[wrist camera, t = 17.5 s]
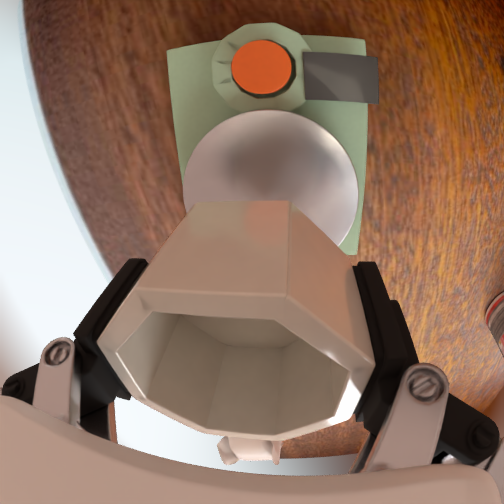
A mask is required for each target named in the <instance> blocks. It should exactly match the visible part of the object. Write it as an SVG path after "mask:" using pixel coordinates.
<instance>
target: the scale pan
mask: <svg viewBox="0 0 504 504" xmlns="http://www.w3.org/2000/svg"><path fill="white" fill-rule="evenodd" d="M303 66H304V83H305V100H328V101H346V102H360V103H370V104H379V78H378V58H377V57H371V56H363V55H354V54H342V53H327V52H303ZM183 198H184V204H185V209H186V213H188V211H189V210H190V209H191V208H192V207H193V205H194V204H196V203H197V202H220V201H289V202H292V203H293V204H294V205H295V206H296V207H297V208H298V209H299V210H301V211H302V212H303V213H304V214H305V215H306V216H307V217H308V218H309V219H310V220H311V221H312V222H313V223H314V224H315V225H316V226H317V227H319V228H320V229H321V230H322V231H323V232H324V233H325V234H326V235H327V236H328V237H329V238H330V239H331V240H332V241H333V242H334V243H335V244H336V245H337V246H339V245H340V244H341V243H342V242H343V240H344V239H345V237H346V236H347V234H348V233H349V231H350V229H351V227H352V225H353V222H354V220H355V216H356V213H357V208H358V202H359V187H358V179H357V175H356V172H355V168H354V166H353V163H352V161H351V159H350V157H349V155H348V154H347V152H346V150H345V149H344V147H343V146H342V145H341V143H340V142H339V141H338V140H337V139H336V138H335V136H334V135H332V134H331V133H330V132H329V131H328V130H327V129H326V128H325V127H323V126H322V125H320V124H319V123H317V122H316V121H314V120H312V119H310V118H308V117H306V116H304V115H302V114H298V113H295V112H292V111H288V110H282V109H257V110H251V111H247V112H243V113H240V114H238V115H235V116H233V117H230V118H228V119H226V120H225V121H223V122H221V123H219V124H218V125H216V126H215V127H214V128H213V129H211V130H210V131H209V132H208V133H207V134H206V135H205V136H204V137H203V138H202V139H201V140H200V142H199V143H198V144H197V146H196V147H195V149H194V150H193V152H192V154H191V156H190V158H189V160H188V163H187V166H186V169H185V174H184V180H183Z"/></svg>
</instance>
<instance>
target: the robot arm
mask: <svg viewBox="0 0 504 504" xmlns="http://www.w3.org/2000/svg"><path fill="white" fill-rule="evenodd" d="M147 264H148V263H147V261H146V260H145V259H139V258H131V259H129V260H128V261H127V262H126V263H125V264H124V266H123V267H122V268H121V269H120V271H119V272H118V273H117V274H116V276H115V277H114V278H113V280H112V281H111V282H110V283H109V285H108V286H107V287H106V289H105V290H104V291H103V293H102V294H101V295H100V297H99V298H98V299H97V301H96V302H95V303H94V305H93V306H92V308H91V309H90V310H89V312H88V313H87V314H86V316H85V317H84V319H83V320H82V322H81V323H80V324H79V326H78V327H77V329H76V330H75V332H74V333H73V334H74V336H75V338H76V339H75V340H74V342H73V341H72V340H71V339H70V338H67V337H61V338H57V339H55V340H53V341H51V342H50V343H49V344H48V345H47V346H46V347H45V348H44V350H43V352H42V355H41V359H40V363H38V364H36V365H34V366H32V367H29V368H27V369H25V370H23V371H20V372H18V373H16V374H14V375H12V376H10V377H9V378H8V379H7V380H6V382H5V383H4V385H3V388H0V504H504V437H503V438H502V439H501V438H500V437H499V430H498V427H497V426H496V424H495V422H494V421H492V420H491V419H490V418H489V417H487V416H485V415H484V414H482V413H480V412H479V411H477V410H476V409H474V408H472V407H471V406H469V405H468V404H466V403H464V402H463V401H461V400H460V399H458V398H456V397H455V396H453V395H452V394H450V393H449V382H448V379H447V376H446V375H445V374H444V372H443V371H442V370H441V369H440V368H438V367H437V366H435V365H433V364H430V363H419V360H418V357H417V354H416V351H415V347H414V344H413V341H412V338H411V335H410V332H409V330H408V327H407V324H406V321H405V318H404V315H403V313H402V310H401V307H400V305H399V303H398V301H396V300H390V299H389V296H388V293H387V290H386V288H385V285H384V282H383V280H382V277H381V275H380V272H379V270H378V267H377V265H376V263H375V262H358V264H357V266H352V267H353V271H354V274H355V278H356V282H357V285H358V289H359V293H360V297H361V301H362V305H363V309H364V313H365V317H366V322H367V326H368V330H369V335H370V340H371V344H372V349H373V354H374V359H375V363H376V365H375V368H374V370H373V373H372V375H371V377H370V379H369V382H368V384H367V386H366V388H365V390H364V392H363V394H362V397H361V399H360V401H359V403H358V405H357V407H356V409H355V411H354V413H353V414H355V416H356V422H361V421H364V428H365V429H367V430H368V431H369V432H368V434H367V436H366V438H365V441H364V443H363V445H362V447H361V449H360V451H359V453H358V455H357V457H356V459H355V461H354V463H353V465H352V467H351V469H350V471H349V472H348V474H344V475H325V476H323V475H322V476H285V475H282V476H281V475H266V474H253V473H243V472H235V471H227V470H220V469H214V468H208V467H202V466H197V465H192V464H187V463H182V462H178V461H174V460H170V459H166V458H161V457H158V456H155V455H151V454H147V453H144V452H141V451H137V450H134V449H131V448H128V447H125V446H122V445H119V444H118V442H117V433H116V422H115V408H114V400H115V398H116V396H117V397H119V398H122V399H126V400H130V398H131V396H132V395H131V394H130V392H129V391H128V390H127V388H126V387H125V386H124V384H123V383H122V381H121V380H120V378H119V377H118V375H117V374H116V373H115V371H114V370H113V368H112V367H111V365H110V363H109V362H108V360H107V359H106V357H105V356H104V354H103V353H102V351H101V349H100V348H99V346H98V344H97V339H98V338H99V336H100V335H101V333H102V331H103V330H104V328H105V327H106V325H107V323H108V322H109V320H110V319H111V317H112V316H113V314H114V313H115V311H116V310H117V308H118V307H119V305H120V304H121V302H122V301H123V299H124V298H125V296H126V295H127V293H128V292H129V290H130V289H131V287H132V286H133V284H134V283H135V281H136V280H137V279H138V277H139V276H140V274H141V273H142V271H143V270H144V269H145V267H146V266H147Z"/></svg>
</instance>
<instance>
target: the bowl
mask: <svg viewBox="0 0 504 504" xmlns="http://www.w3.org/2000/svg"><path fill="white" fill-rule="evenodd" d="M97 344H98V346H99V348H100V349H101V351H102V353H103V354H104V356H105V357H106V359H107V360H108V362H109V363H110V365H111V367H112V368H113V370H114V371H115V373H116V374H117V375H118V377H119V378H120V380H121V381H122V383H123V384H124V386H125V387H126V388H127V390H128V391H129V392H130V394H131V395H132V396H133V397H134V398H135V399H136V400H138V401H140V402H142V403H144V404H145V405H147V406H149V407H151V408H152V409H154V410H156V411H158V412H160V413H162V414H164V415H166V416H168V417H170V418H172V419H174V420H176V421H178V422H180V423H182V424H184V425H186V426H188V427H191V428H193V429H195V430H197V431H199V432H202V433H206V434H213V435H219V436H227V437H235V438H245V439H256V440H271V441H283V440H287V439H291V438H294V437H298V436H301V435H304V434H308V433H311V432H314V431H317V430H320V429H323V428H326V427H329V426H332V425H334V424H337V423H340V422H342V421H345V420H348V419H350V418H351V417H352V415H353V413H354V411H355V409H356V407H357V405H358V403H359V401H360V399H361V397H362V394H363V392H364V390H365V388H366V386H367V384H368V382H369V379H370V377H371V375H372V373H373V370H374V368H375V365H376V363H375V359H374V354H373V349H372V344H371V340H370V335H369V330H368V326H367V322H366V317H365V313H364V309H363V305H362V301H361V297H360V293H359V289H358V285H357V282H356V278H355V274H354V271H353V267H352V263H351V261H350V258H349V257H348V256H347V255H346V254H345V253H344V252H343V251H342V250H341V249H340V248H339V247H338V246H337V245H336V244H335V243H334V242H333V241H332V240H331V239H330V238H329V237H328V236H327V235H326V234H325V233H324V232H323V231H322V230H321V229H320V228H319V227H317V226H316V225H315V224H314V223H313V222H312V221H311V220H310V219H309V218H308V217H307V216H306V215H305V214H304V213H303V212H302V211H301V210H299V209H298V208H297V207H296V206H295V205H294V204H293V203H292V202H289V201H220V202H197V203H196V204H194V205H193V207H192V208H191V209H190V210H189V211H188V213H187V214H186V215H185V216H184V218H183V219H182V220H181V221H180V223H179V224H178V225H177V226H176V228H175V229H174V230H173V231H172V233H171V234H170V235H169V236H168V238H167V239H166V240H165V242H164V243H163V244H162V245H161V247H160V248H159V249H158V251H157V252H156V253H155V255H154V256H153V257H152V259H151V260H150V262H149V263H148V264H147V266H146V267H145V269H144V270H143V271H142V273H141V274H140V276H139V277H138V279H137V280H136V281H135V283H134V284H133V286H132V287H131V289H130V290H129V292H128V293H127V295H126V296H125V298H124V299H123V301H122V302H121V304H120V305H119V307H118V308H117V310H116V311H115V313H114V314H113V316H112V317H111V319H110V320H109V322H108V323H107V325H106V327H105V328H104V330H103V331H102V333H101V335H100V336H99V338H98V339H97Z"/></svg>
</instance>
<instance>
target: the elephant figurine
mask: <svg viewBox="0 0 504 504" xmlns="http://www.w3.org/2000/svg"><path fill="white" fill-rule="evenodd" d="M281 442H282V441H271V440H256V439H245V438H235V437H227V436H225V437H223V438H222V439H221V441H220V442H219V443H218V444H217V447H218V450H219V453H220V456H221V459H222V461H223V463H224V464H226V465H231V464H234V463H236V462H237V461H239V460H240V459H241V460H273V462H274V464H275V465H278V464H279V460H280V448H281V446H282V445H283V443H281Z"/></svg>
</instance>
